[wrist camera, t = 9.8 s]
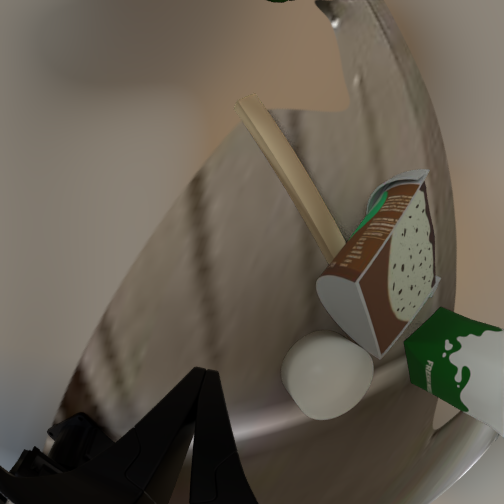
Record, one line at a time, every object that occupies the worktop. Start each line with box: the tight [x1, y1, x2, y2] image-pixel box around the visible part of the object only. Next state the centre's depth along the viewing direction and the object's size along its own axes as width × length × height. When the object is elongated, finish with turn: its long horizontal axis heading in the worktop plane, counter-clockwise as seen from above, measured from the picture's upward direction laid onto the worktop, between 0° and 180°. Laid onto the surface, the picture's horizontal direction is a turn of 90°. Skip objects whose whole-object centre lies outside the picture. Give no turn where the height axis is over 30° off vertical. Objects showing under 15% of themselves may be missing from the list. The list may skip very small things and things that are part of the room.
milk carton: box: [404, 307, 504, 438], centre depth 17 cm, size 9×9×20 cm
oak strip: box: [234, 93, 346, 264], centre depth 20 cm, size 2×16×2 cm, turn 32°
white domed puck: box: [281, 330, 374, 420], centre depth 21 cm, size 7×7×4 cm
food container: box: [316, 169, 441, 360], centre depth 19 cm, size 12×6×10 cm
